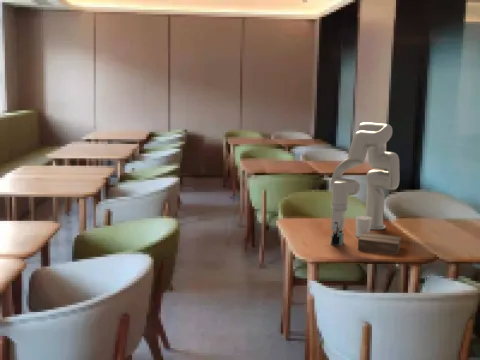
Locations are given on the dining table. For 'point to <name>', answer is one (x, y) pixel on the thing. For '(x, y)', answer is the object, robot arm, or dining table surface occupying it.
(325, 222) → the dining table surface
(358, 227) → the white cup
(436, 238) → the dining table surface
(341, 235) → the teal block
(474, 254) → the dining table surface
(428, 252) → the dining table surface
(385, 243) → the walnut riser
